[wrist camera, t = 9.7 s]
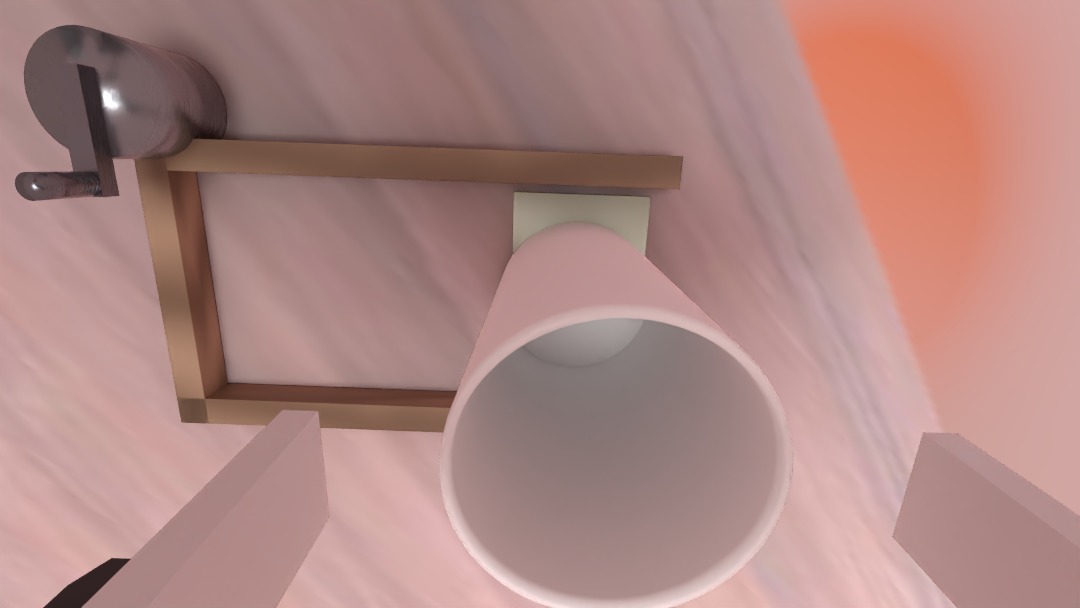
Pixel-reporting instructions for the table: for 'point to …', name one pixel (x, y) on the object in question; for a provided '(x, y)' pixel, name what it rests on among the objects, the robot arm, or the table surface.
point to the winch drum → (113, 107)
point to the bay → (179, 208)
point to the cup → (609, 433)
